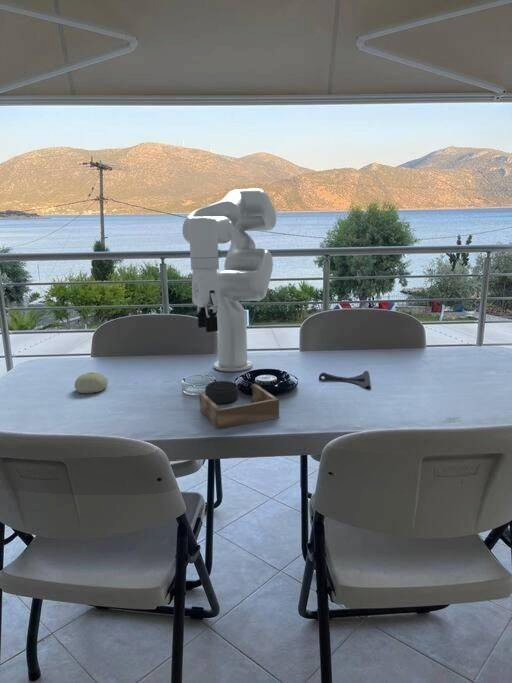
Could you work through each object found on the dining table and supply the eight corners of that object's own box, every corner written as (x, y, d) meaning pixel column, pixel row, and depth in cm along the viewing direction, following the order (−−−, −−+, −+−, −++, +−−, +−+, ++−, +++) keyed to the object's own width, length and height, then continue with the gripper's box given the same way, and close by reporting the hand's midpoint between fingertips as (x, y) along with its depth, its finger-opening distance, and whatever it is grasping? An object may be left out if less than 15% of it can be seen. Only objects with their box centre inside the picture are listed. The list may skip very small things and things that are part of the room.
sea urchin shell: (115, 379, 143) (102, 366, 137) (106, 403, 140) (91, 391, 133) (90, 376, 146) (75, 363, 140) (80, 400, 143) (64, 388, 136)
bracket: (320, 374, 152) (320, 365, 151) (368, 375, 149) (369, 367, 149) (317, 389, 138) (317, 380, 138) (370, 391, 135) (371, 382, 135)
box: (200, 409, 123) (199, 393, 122) (256, 399, 129) (255, 383, 128) (218, 429, 111) (217, 410, 110) (279, 417, 117) (278, 399, 116)
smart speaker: (242, 402, 128) (242, 388, 127) (210, 407, 125) (209, 392, 124) (232, 392, 136) (232, 378, 135) (202, 396, 133) (201, 382, 132)
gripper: (182, 262, 137) (185, 325, 141) (201, 266, 121) (204, 336, 126) (207, 261, 140) (210, 322, 144) (229, 265, 124) (231, 333, 129)
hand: (207, 328), depth 135 cm, fingers open, 6 cm apart
